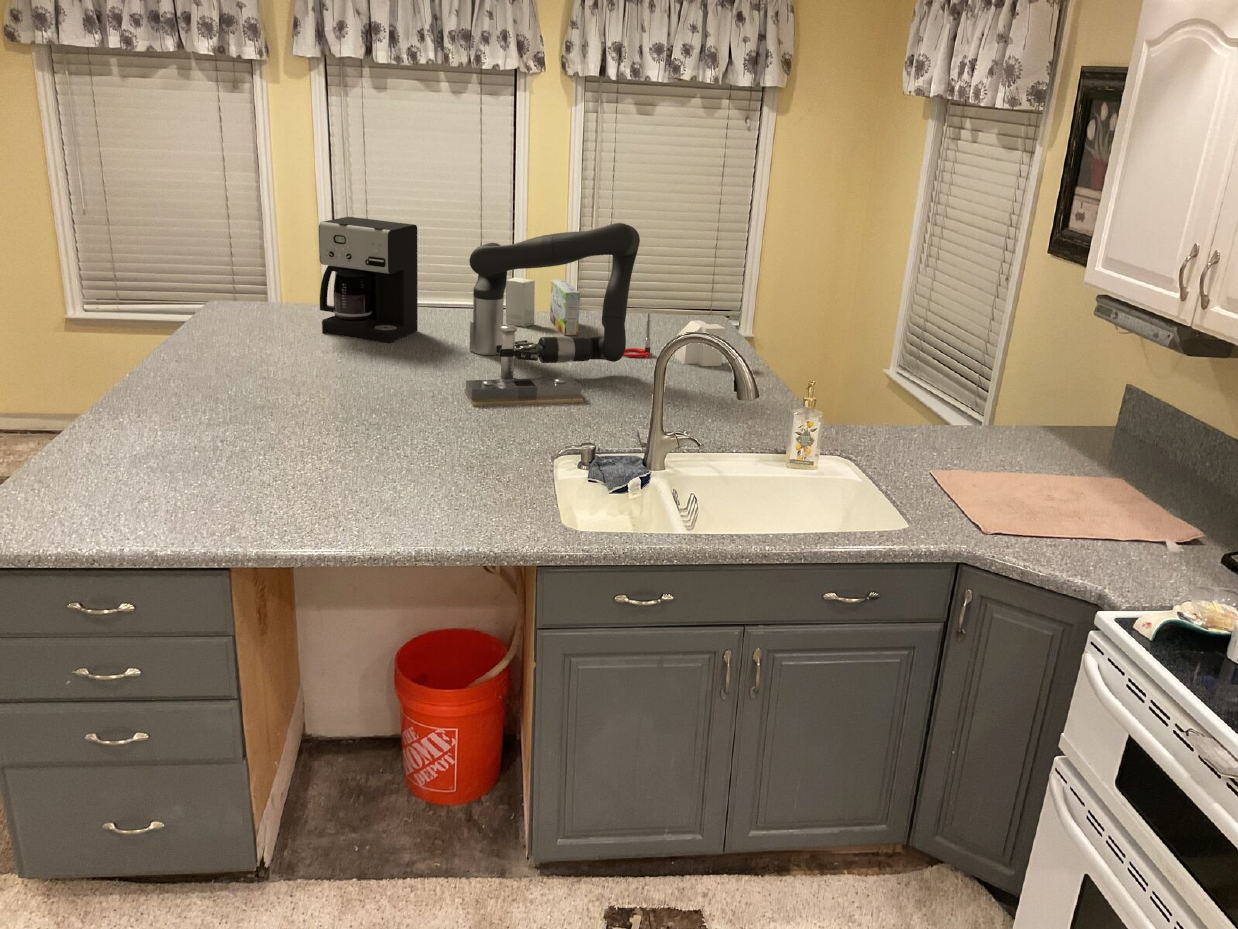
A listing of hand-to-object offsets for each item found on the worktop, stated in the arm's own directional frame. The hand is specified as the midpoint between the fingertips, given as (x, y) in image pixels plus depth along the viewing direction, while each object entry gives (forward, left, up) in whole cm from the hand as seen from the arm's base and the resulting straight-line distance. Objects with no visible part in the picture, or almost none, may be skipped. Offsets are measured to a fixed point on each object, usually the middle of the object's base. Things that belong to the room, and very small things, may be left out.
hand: (498, 350), depth 287 cm
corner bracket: (+44, +53, -8) cm, 69 cm away
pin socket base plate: (+14, -12, -8) cm, 20 cm away
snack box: (-9, +67, -8) cm, 68 cm away
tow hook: (+24, +49, -8) cm, 55 cm away
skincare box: (-24, +63, -8) cm, 68 cm away
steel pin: (+2, +2, -8) cm, 8 cm away
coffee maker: (-60, +23, -8) cm, 65 cm away
